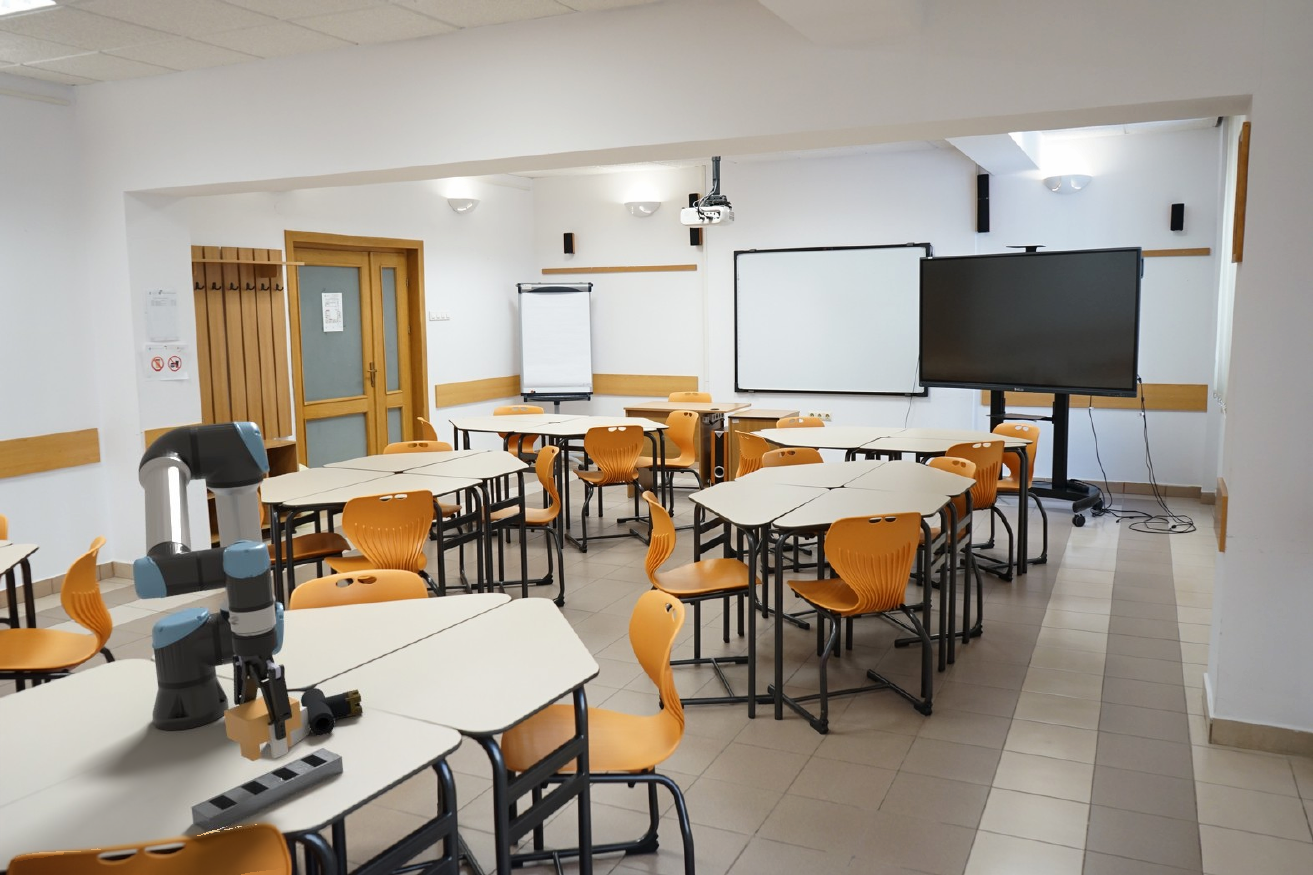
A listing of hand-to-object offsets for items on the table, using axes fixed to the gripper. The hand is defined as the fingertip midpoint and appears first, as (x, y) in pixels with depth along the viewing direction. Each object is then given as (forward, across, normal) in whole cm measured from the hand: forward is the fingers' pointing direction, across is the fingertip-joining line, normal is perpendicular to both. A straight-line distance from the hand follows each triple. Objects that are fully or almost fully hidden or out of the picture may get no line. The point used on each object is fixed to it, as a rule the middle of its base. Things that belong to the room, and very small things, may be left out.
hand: (266, 748), depth 173 cm
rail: (+9, 0, 0) cm, 9 cm away
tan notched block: (0, 0, 0) cm, 0 cm away
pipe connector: (+10, -20, +26) cm, 34 cm away
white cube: (+9, -19, +15) cm, 26 cm away
